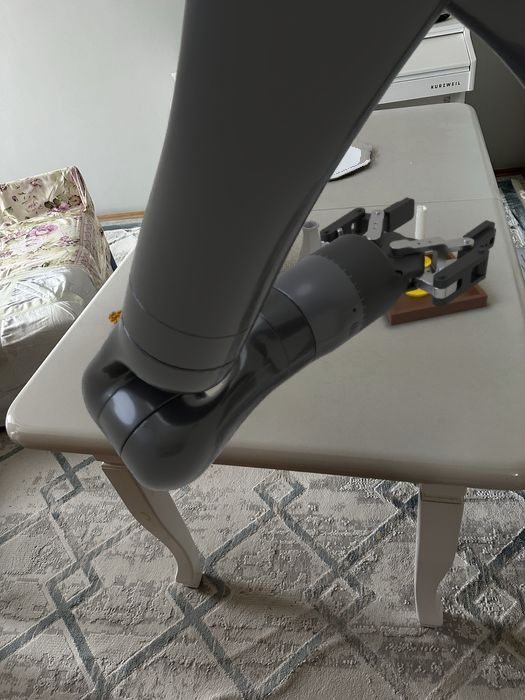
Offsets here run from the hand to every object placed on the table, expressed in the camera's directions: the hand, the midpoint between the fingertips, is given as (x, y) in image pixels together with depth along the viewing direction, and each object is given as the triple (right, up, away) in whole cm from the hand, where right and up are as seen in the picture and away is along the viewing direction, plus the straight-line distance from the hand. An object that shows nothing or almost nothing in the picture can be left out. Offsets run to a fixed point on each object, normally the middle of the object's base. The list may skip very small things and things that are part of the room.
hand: (448, 218), depth 48 cm
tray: (+10, -2, +41) cm, 42 cm away
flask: (-7, +3, +51) cm, 51 cm away
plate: (-2, +38, +91) cm, 98 cm away
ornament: (-40, -10, +44) cm, 60 cm away
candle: (+9, -2, +41) cm, 42 cm away
